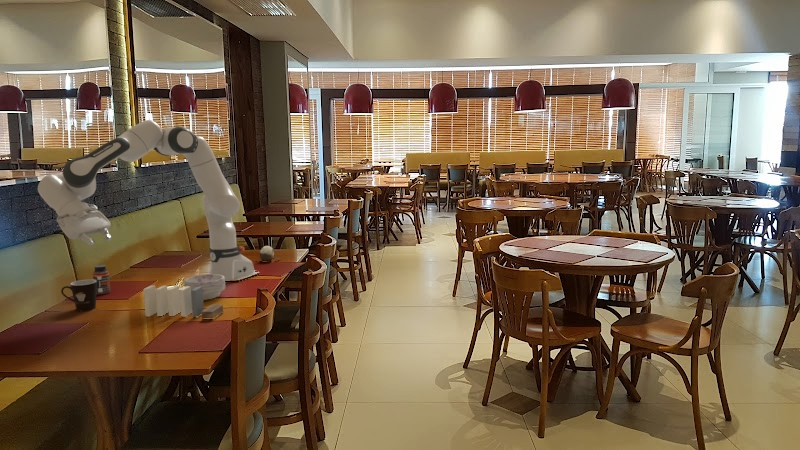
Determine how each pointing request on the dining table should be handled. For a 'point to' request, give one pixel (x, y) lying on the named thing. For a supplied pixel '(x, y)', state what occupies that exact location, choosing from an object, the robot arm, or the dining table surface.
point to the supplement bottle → (101, 279)
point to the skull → (267, 254)
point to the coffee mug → (83, 294)
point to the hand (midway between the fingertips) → (101, 241)
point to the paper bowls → (207, 284)
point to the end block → (212, 311)
